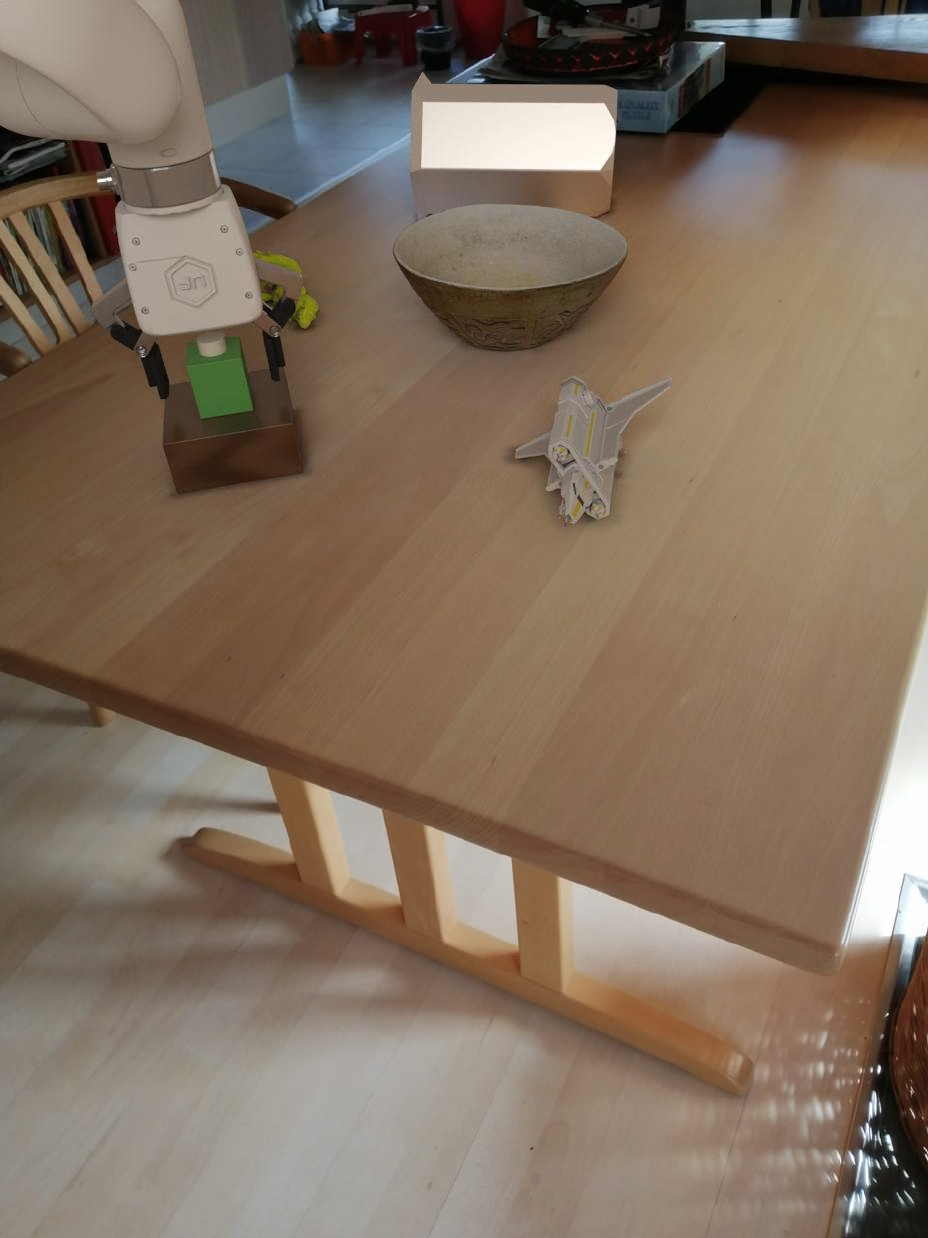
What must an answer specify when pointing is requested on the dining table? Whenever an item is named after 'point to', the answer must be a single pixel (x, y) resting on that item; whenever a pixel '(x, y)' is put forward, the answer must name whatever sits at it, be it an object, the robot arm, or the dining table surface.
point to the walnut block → (231, 437)
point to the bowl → (509, 270)
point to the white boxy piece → (512, 146)
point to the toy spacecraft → (587, 445)
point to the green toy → (219, 375)
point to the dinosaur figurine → (274, 292)
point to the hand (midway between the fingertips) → (220, 383)
